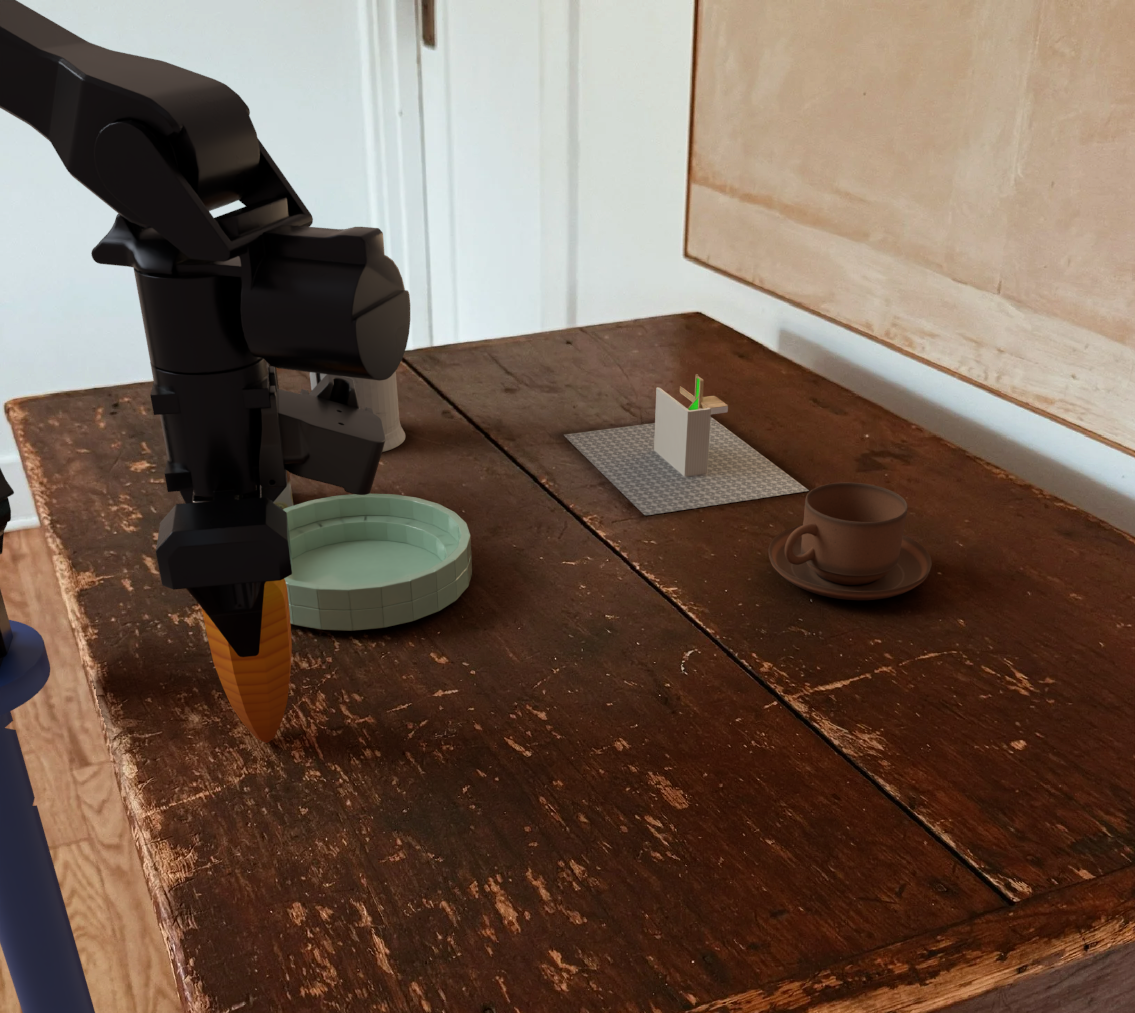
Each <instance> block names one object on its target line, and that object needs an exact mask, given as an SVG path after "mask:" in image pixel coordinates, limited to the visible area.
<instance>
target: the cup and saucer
mask: <svg viewBox="0 0 1135 1013" xmlns="http://www.w3.org/2000/svg"><path fill="white" fill-rule="evenodd" d="M908 509H909V505H908V502H907V501H906V499H905V498H904V497H903V496H901V495H900V494H898V493H897V492H895V491H893V490H891V489H888V488H885V487H882V486H879V485H875V484H871V483H870V484H869V483H863V482H854V481H853V482H851V481H849V482H848V481H847V482H844V481H843V482H832V483H826V484H821V485H819V486H816V487H814V488H812V489H811V490H809V491H808V493H807V494H806V496H805V501H804V512H803V522H802V524H799V525H796V526H792V527H790V528H787V529H785V530H783V531H781V532H780V533H778V534H776V536H774V537H773V538H772V539H771V541H770V543H769V544H768V557H769V561H770V563H771V565H772V567H773V568H774V570H775V571H776V572H777V573H778V574H779V575H780V576H781V577H783V578H784V580H786V581H787V582H789V583H791V584H792V585H794V586H796V587H797V588H800V589H802V590H804V591H806V592H809V593H812V594H815V595H819V596H822V597H827V598H832V599H837V600H844V601H845V600H846V601H877V600H882V599H889V598H893V597H897V596H900V595H902V594H905V593H907V592H910V591H911V590H913V589H915V588H916V587H918V586H919V585H921V584H922V583H924V581H925V580H926V579H927V578H928V576H929V574H930V572H931V568H932V567H933V566H932V565H933V560H932V558H931V555H930V553H929V551H927V549H926V548H925V547H924V546H923V545H922V544H921V543H920V542H918V541H916V540H915V539H913V538H911V537H910V536H908V535H905V534H904V532H905V527H906V522H907V514H908Z"/></svg>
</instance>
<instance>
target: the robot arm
mask: <svg viewBox="0 0 1135 1013" xmlns="http://www.w3.org/2000/svg"><path fill="white" fill-rule="evenodd" d="M0 109H1V110H3V111H5V112H6V113H9V115H11V116H13V117H15V118H17V119H18V120H20V121H22V122H24V123H25V124H26V125H28V126H30V127H31V128H32V129H34V130H35V131H36V132H37V133H39V134H40V135H42V137H43V138H45V139H46V140H47V141H49V142H50V144H51V145H52V147H53V149H54V150H55V153H56V154H57V155H58V157H59V159H60V161H61V162H62V164H63V166H64V167H65V169H66V170H67V172H68V173H69V174H70V176H71V177H73V178H74V179H75V180H76V181H77V182H78V183H80V184H81V185H83V186H84V187H85V188H86V189H87V190H88V191H90V192H91V193H92V194H93V195H95V196H96V197H97V198H98V199H100V200H101V201H102V202H104V203H105V204H106V205H107V206H108V207H109V208H111V209H112V210H114V211H115V212H116V213H117V215H116V216H115V220H114V223H113V224H112V226H111V228H110V229H109V231H108V232H107V233H106V234H105V235H104V236H103V238H102V239H101V240H100V241H99V242H98V243H97V245H95V246H94V247H93V248H92V249H91V258H92V260H93V261H94V262H95V263H97V264H99V265H108V266H118V267H129V268H133V273H134V278H135V285H136V290H137V296H138V301H139V306H140V313H141V318H142V323H143V328H144V336H145V340H146V345H147V351H148V358H149V364H150V368H151V374H152V380H153V383H152V387H151V391H150V402H151V406H152V413H153V416H159V418H160V424H161V430H162V435H163V441H164V447H165V452H166V453H165V454H166V458H167V459H166V463H165V469H164V479H165V485H166V489H167V493H174V492H176V493H177V492H179V494H180V496H181V497H182V499H183V501H184V503H176V504H175V505H174V506H173V507H172V508H171V509H170V511H168V513H167V514H166V515H165V516H164V517H163V518H162V520H160V522H159V529H158V534H157V540H156V547H155V554H156V555H155V556H156V561H157V566H158V571H159V576H160V581H161V586H162V587H165V588H168V589H171V590H175V591H176V590H184V589H185V590H186V591H187V592H188V593H189V594H190V595H191V597H192V598H193V599H194V600H195V601H196V603H197V604H198V605H199V607H200V608H201V610H202V609H203V610H204V611H205V613H206V614H207V615H208V616H209V618H210V619H211V620H212V622H213V623H214V624H215V626H216V627H217V628H218V630H219V631H220V632H221V634H222V635H223V636H224V638H225V639H226V640H227V642H228V643H229V644H230V645H231V647H232V648H233V649H234V651H235V652H236V653H237V655H238V656H240V657H251V656H257V655H258V654H259V648H260V635H261V623H262V609H263V597H264V586H265V583H266V582H267V581H279V580H282V579H284V578H286V577H288V576H290V575H292V560H291V545H290V535H289V527H288V519H287V512H285V511H284V510H283V509H281V508H280V507H279V506H277V505H276V504H274V503H273V502H274V501H275V500H276V499H277V498H278V496H279V495H280V494H281V493H282V492H283V490H284V489H285V488H286V487H287V471H288V472H289V474H292V475H295V476H297V477H300V478H304V479H307V480H312V481H315V482H319V483H323V484H328V485H330V486H331V485H332V486H335V487H339V488H342V489H343V490H344V491H345V492H346V493H347V494H357V495H367V494H371V492H372V488H373V485H374V481H375V478H376V474H377V471H378V468H379V465H380V461H381V458H382V454H383V452H382V451H383V448H384V444H385V441H386V438H385V434H384V429H383V425H382V421H381V419H380V418H379V417H378V416H377V415H375V414H373V409H372V408H369V407H366V408H365V410H362V409H359V404H358V400H357V395H356V391H355V386H354V382H353V380H352V379H350V378H347V377H354V378H362V379H370V380H379V381H380V380H386V379H388V378H389V377H391V376H392V375H393V373H394V372H395V371H396V372H397V370H398V368H399V366H400V365H401V362H402V360H403V358H404V355H405V352H406V349H407V345H408V340H409V335H410V327H411V297H410V292H409V290H407V289H405V284H404V280H403V277H402V276H403V275H402V274H401V272H400V270H399V267H398V265H397V264H396V263H395V261H394V259H392V258H390V257H389V256H388V255H386V254H385V243H384V242H385V240H384V232H383V230H381V228H380V227H371V226H352V227H348V228H329V227H318V226H317V227H316V226H312V225H313V222H314V218H313V215H312V214H311V212H310V210H309V209H308V208H307V206H306V205H305V203H304V202H303V200H302V199H301V198H300V196H299V195H298V193H297V191H295V189H294V187H293V186H292V185H291V183H290V182H289V180H288V179H287V177H286V176H285V175H284V172H282V170H281V169H280V167H279V165H277V163H276V162H275V160H274V159H273V157H272V156H271V154H270V153H269V152H268V150H267V148H265V146H264V145H263V143H262V141H260V139H259V138H258V134H257V130H256V128H255V126H254V123H253V121H252V119H251V116H250V114H251V111H250V107H249V105H248V104H247V103H246V102H245V101H244V99H242V97H241V96H240V95H239V94H238V93H237V92H236V91H235V90H233V89H232V88H231V87H230V86H229V85H228V84H226V83H224V82H221V81H219V80H217V79H215V78H212V77H209V76H207V75H204V74H201V73H198V72H196V71H192V70H190V69H187V68H184V67H181V66H178V65H175V64H172V63H170V62H167V61H165V60H160V59H156V58H150V57H146V56H141V55H137V54H131V53H127V52H121V51H118V50H117V51H116V50H113V49H109V48H106V47H104V46H101V45H97V44H95V43H92V42H90V41H88V40H86V39H84V38H82V37H80V36H79V35H77V34H75V33H73V32H72V31H70V30H69V29H67V28H66V27H63V26H62V25H60V24H58V23H56V22H55V21H53V20H51V19H49V18H48V17H46V16H44V15H42V14H41V13H39V12H37V11H35V10H34V9H32V8H31V7H28V6H27V5H25V4H23V3H21V2H20V1H18V0H0ZM238 201H239V202H240V203H241V204H242V205H244V206H243V207H240V208H236V209H234V210H231V211H229V212H227V213H226V212H225V213H224V214H221V215H217V216H215V217H214V216H213V214H212V213H211V211H214V210H216V209H217V210H218V209H221V208H222V207H225V206H228V205H230V204H233V203H236V202H238ZM269 364H270V365H271V366H272V367H269ZM275 367H276V369H280V370H289V371H297V372H305V373H310V372H313V373H321V374H327V375H326V376H325V377H324V378H323V379H322V380H321V381H320V382H319V383H318V384H317V385H316V386H315V388H314V389H313V390H312V389H311V390H310V392H309V390H307V389H304V388H301V389H300V393H297V392H293V391H289V390H286V389H285V390H284V389H280V388H279V389H278V388H277V380H276V372H275ZM343 376H346V377H343ZM14 494H15V491H14V489H13V488H12V486H11V485H10V483H9V482H8V481H7V479H6V476H5V475H4V473H3V471H2V468H1V467H0V555H2V554H3V551H4V538H5V536H4V535H5V530H6V528H7V526H8V523H9V522H10V521H11V520H12V508H11V504H10V500H9V497H11V496H13V495H14ZM6 608H7V607H6V605H5V600H4V597H3V593H2V588H0V667H1V664H2V661H3V658H4V657H5V656H6V655H7V654H8V651H9V648H10V645H11V642H12V639H13V634H12V630H11V626H10V622H9V620H10V619H9V615H8V611H7V609H6Z"/></svg>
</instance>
